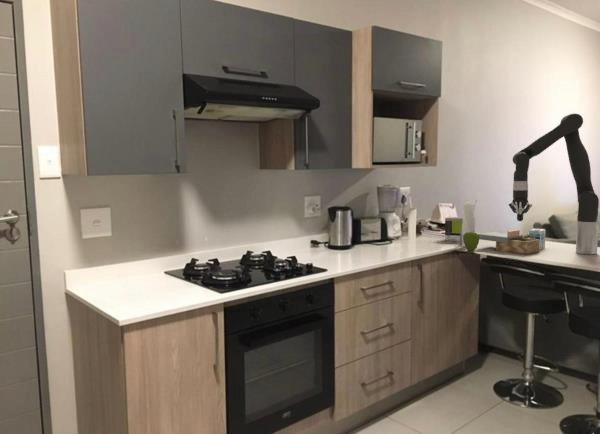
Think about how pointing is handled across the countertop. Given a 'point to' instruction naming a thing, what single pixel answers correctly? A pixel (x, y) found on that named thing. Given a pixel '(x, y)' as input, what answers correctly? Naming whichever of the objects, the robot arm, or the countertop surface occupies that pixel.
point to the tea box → (453, 228)
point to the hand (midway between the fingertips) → (520, 220)
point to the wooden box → (519, 246)
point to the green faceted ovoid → (471, 241)
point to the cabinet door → (500, 236)
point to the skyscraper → (467, 220)
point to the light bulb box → (538, 236)
